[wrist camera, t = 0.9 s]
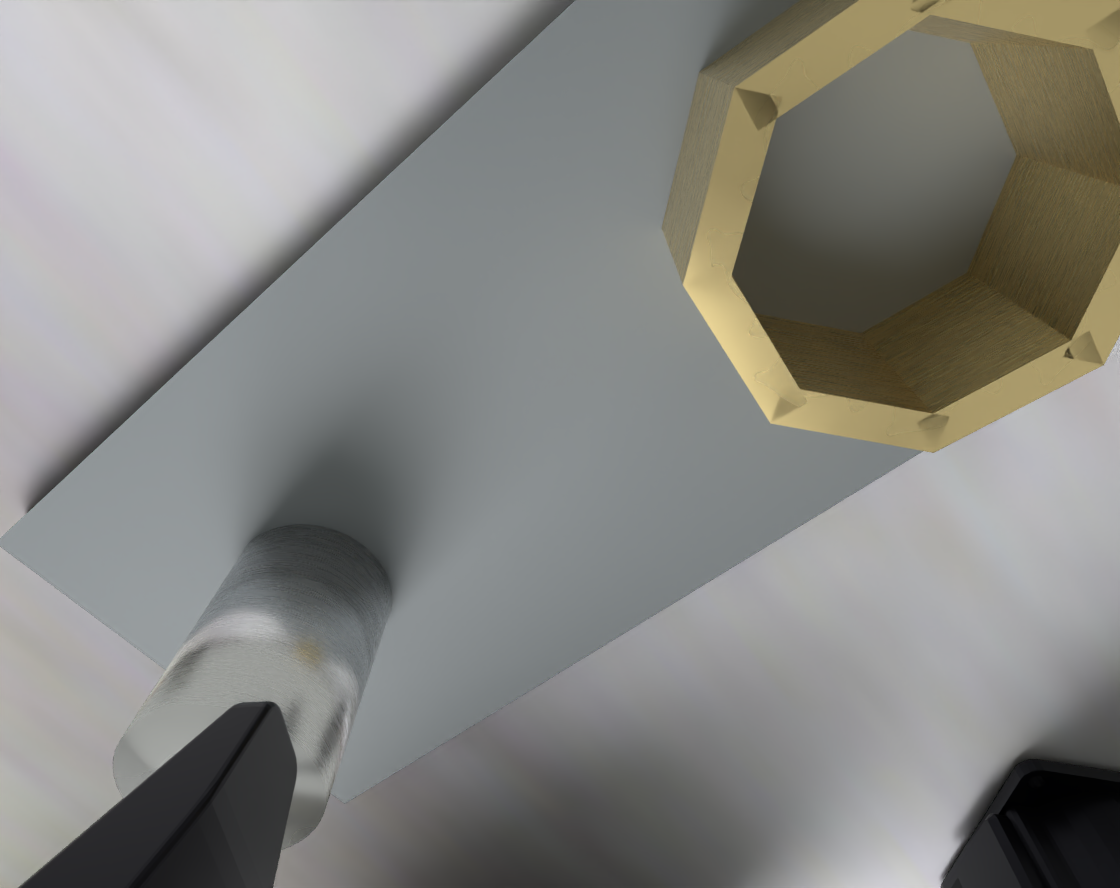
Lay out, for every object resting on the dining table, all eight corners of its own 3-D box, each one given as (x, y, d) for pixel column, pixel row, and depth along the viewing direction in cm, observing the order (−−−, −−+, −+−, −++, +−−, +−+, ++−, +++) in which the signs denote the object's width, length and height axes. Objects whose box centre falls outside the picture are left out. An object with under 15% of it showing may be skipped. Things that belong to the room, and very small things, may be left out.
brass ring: (1111, 25, 14) (1282, 27, 11) (953, 382, 18) (1046, 473, 14) (729, -56, 14) (778, -84, 11) (638, 324, 17) (652, 401, 14)
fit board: (924, -325, 13) (1238, -646, 7) (1197, 244, 17) (1555, 373, 11) (24, 516, 21) (-215, 727, 15) (354, 771, 25) (277, 1022, 19)
